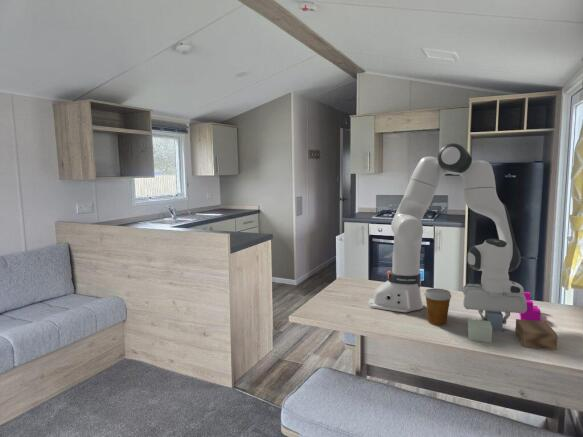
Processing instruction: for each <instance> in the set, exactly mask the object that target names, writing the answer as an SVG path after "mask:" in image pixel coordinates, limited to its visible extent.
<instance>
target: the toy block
mask: <svg viewBox="0 0 583 437" xmlns="http://www.w3.org/2000/svg"><path fill="white" fill-rule="evenodd" d="M523 294H524V296H525V297H526V302H527V311H526V312H525V313H518V314H519V318H520V319H521V320H534V321H541V314H542V313H541V309H540V307H539V306H538V305H534V301H533V300H531V293H530V291H529V292H528V291H524V292H523Z"/></svg>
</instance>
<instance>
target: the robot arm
mask: <svg viewBox="0 0 583 437" xmlns="http://www.w3.org/2000/svg"><path fill="white" fill-rule="evenodd" d="M443 176H446V177H448V176H449V177H451V176H452V177H458V176H460V177H461V178H462V180H463V197H464V202H465V204H466V206H467V207H468V208H469V209H470V210H471V211H472V212H474V213H476V214H480V215H482V216H483V217H484V216H485V217H486V218H489V219H491V220H492V221H493V222H494V224H495V226H496V231H497V236H498V238H488V239H486V240H484V242H483V243H482V244H478V245H477V244H476V245H473V246H471V247H470V248H469V249H468V251H467V253H466V262H467V265H468V266H469V267H470V268H471V269H472V270H474V271H479V272H480V271H481V279H480V283H467V284H465V285H463V287H462V288H463V289H462V293H463V295H464V297H463V304H462V305H463V307H464V309H466V310H472V311H473V310H474V311H477V313H478V314H479V315H480V319H481V320H484V321H486V316H485V315H483V314H484V312H485V311H499V312H501V313H504V314H505V315H503V325H507V321H508V319H509V317H510V316H511V313H512V314H514V313H515V314H519V313H525V312H526V311H527V302H526V297H525V296H524V294H523V292H525V290H524V287H523V286H522V285H521V284H520V283H518V282H516V281H513V280H510V275H509V272H513V271H515V270H516V269H517V268H518V267H519V265H521V261H522V258H521V252H520V249H519V248H518V246H517V245H518V244H517V243H516V239H515V234H514V230H513V226H512V222H511V217H510V214H509V210H508V207H507V205H506V204H505V203H504V202H502V201H501V200H500V198H499V196H498V193H497V186H496V179H495V173H494V170H493V165H492V164H491V163H490V162H488V161H486V160H473V158H472V156H471V154H470V152H469V150H467V149H466V148H465V147H464V146H463V145H461V144H458V143H453V142H451V143H447V144H445V145H443V147H441V149H440V150H439V152H438V153H437V157H435V156H424V157H421V159H420V160H419V161H418V163H417V165H416V167H414V170H413V172H412V174H411V177H410V179H409V182H408V184H407V186H406V189H405V192H404V195H403V197H402V199H401V201H400V203H399V206H398V207H397V210H396V211H395V213H394V215H393V217H392V218H393V219H392V221H391V225H390V226H391V231H392V233H393V246H392V248H393V249H392V259H391V260H392V266H391V267H392V269H391V270H392V271H391V270H388V271H387V272H386V276H387V277H386V280H385V282H383V283H381V284H379V286H377V287H376V288H375V290H374V292H373V294H374V295H373V296H372V297H370V298H369V300H368V306H369V308H372V309H378V310H385V311H393V312H399V313H409V312H414V311H419V310H421V309H423V308H424V304H423V301H422V300H423V299H422V296H421V294H422V293H421V285H422V276H421V273H420V267H421V265H420V264H421V249H422V242H423V232H424V229H423V228H424V227H423V224H422V222H421V221H423V220H422V219H423V218H424V216H425V214H426V212H427V210H428V209H429V207H430V205H431V204H432V201H433V199H434V196H435V194H436V191H437V189H438V186H439V183H440V181H441V180H442V177H443Z"/></svg>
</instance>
